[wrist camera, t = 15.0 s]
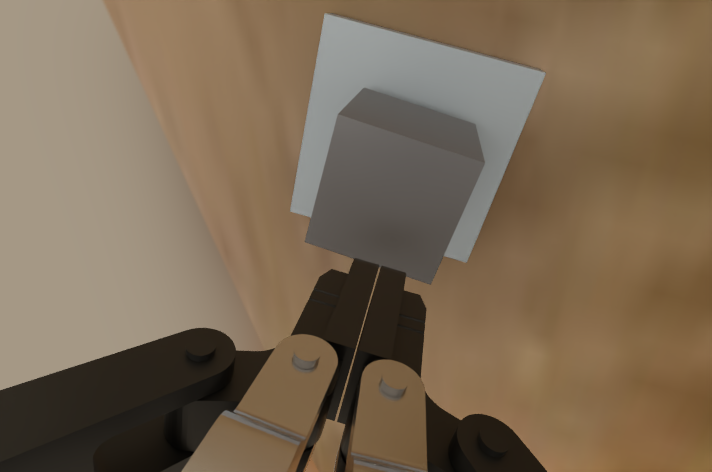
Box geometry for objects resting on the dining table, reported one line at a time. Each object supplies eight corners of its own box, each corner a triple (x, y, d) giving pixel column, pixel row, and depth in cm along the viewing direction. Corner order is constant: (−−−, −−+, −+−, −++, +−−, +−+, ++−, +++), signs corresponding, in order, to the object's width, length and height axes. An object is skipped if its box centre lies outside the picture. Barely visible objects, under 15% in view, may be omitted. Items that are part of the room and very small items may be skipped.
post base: (540, 69, 23) (587, 99, 15) (465, 250, 28) (473, 339, 20) (331, 13, 23) (277, 16, 16) (297, 201, 28) (244, 271, 21)
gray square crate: (475, 124, 21) (485, 163, 16) (433, 223, 24) (430, 284, 19) (364, 87, 21) (337, 114, 16) (335, 190, 24) (304, 242, 19)
